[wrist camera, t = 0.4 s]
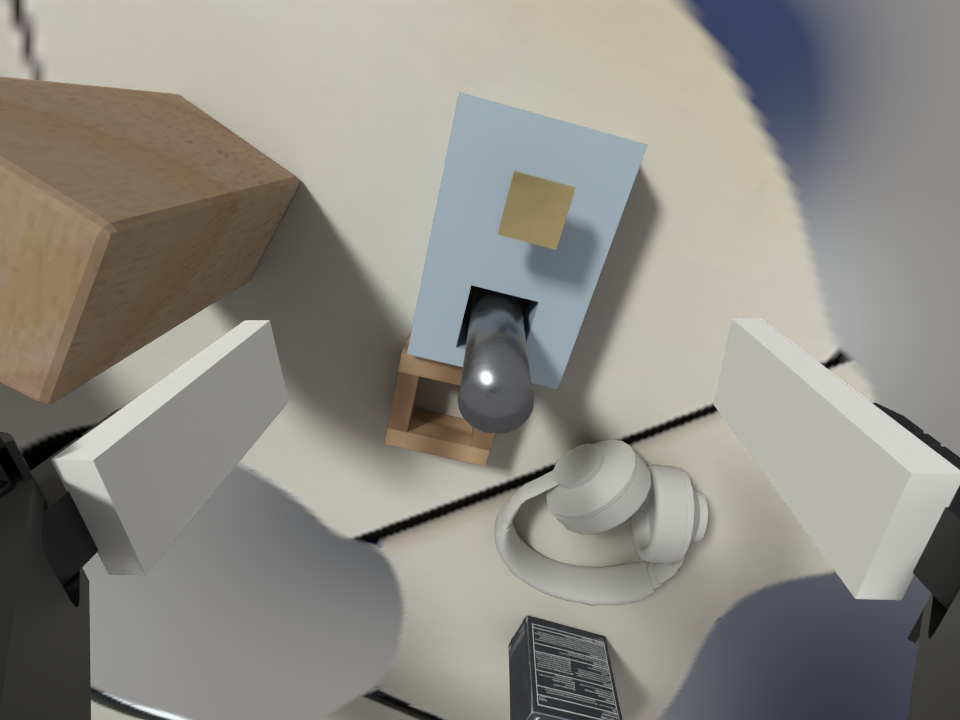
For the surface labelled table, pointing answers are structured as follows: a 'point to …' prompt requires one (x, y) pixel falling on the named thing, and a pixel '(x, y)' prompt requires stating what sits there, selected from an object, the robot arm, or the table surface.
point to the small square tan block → (535, 209)
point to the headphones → (608, 523)
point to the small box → (560, 674)
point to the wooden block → (118, 225)
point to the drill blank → (495, 365)
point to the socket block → (513, 263)
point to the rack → (432, 416)
